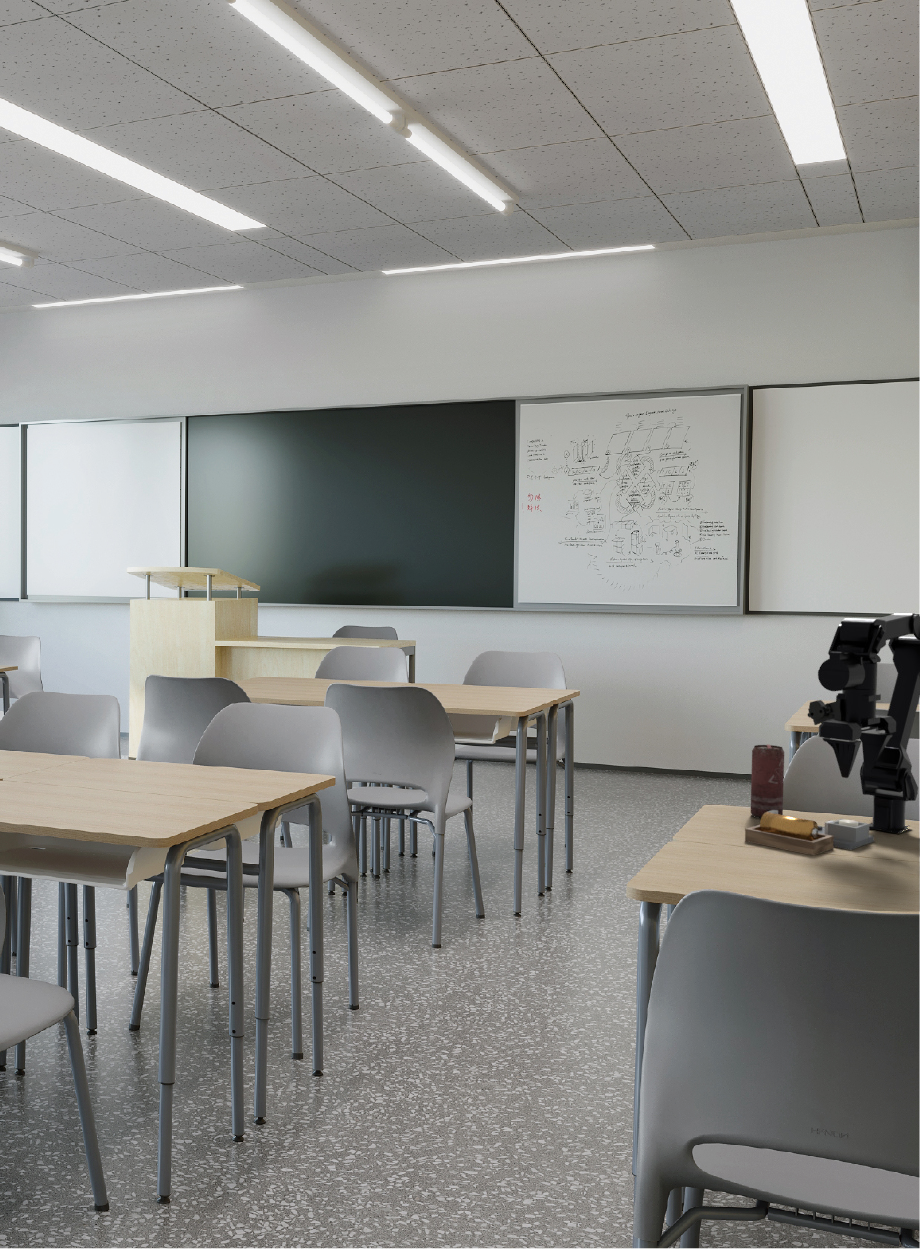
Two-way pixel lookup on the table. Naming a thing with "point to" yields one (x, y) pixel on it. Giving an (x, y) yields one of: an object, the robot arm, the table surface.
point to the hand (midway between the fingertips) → (856, 774)
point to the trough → (789, 841)
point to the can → (767, 780)
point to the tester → (845, 833)
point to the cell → (789, 826)
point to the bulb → (848, 823)
